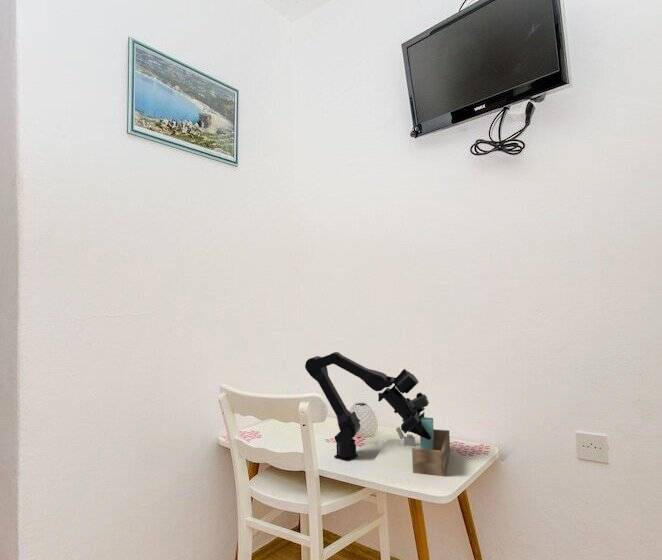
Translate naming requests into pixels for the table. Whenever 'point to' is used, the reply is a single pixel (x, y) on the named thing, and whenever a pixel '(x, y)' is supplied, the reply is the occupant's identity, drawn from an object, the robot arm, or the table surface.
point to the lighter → (406, 438)
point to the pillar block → (429, 428)
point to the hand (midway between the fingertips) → (431, 436)
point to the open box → (433, 455)
